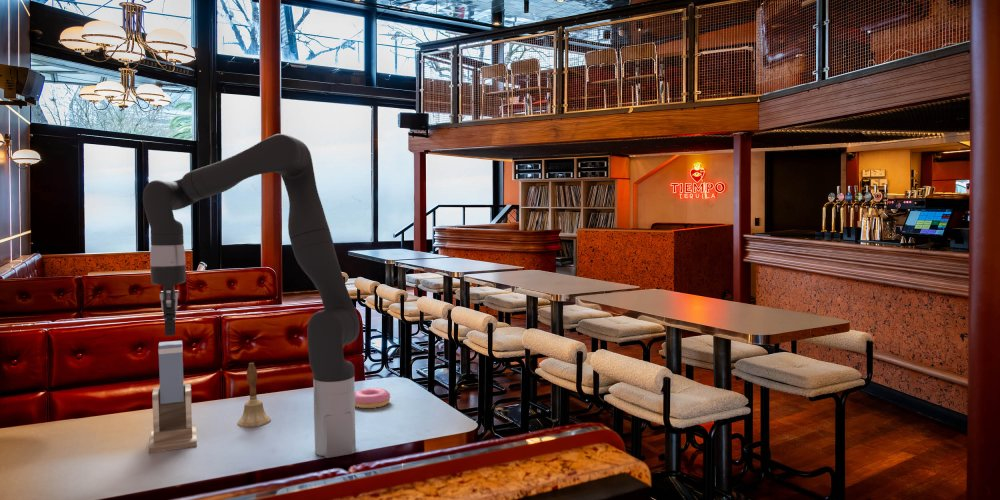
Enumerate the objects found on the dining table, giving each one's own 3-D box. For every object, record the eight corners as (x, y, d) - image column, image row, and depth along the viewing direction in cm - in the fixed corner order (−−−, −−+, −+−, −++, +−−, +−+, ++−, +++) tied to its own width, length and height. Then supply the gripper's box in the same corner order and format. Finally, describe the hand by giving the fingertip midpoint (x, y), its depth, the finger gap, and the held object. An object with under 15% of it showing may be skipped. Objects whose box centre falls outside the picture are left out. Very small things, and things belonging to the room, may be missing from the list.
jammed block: (184, 401, 155) (182, 344, 154) (160, 404, 152) (158, 346, 152) (184, 396, 159) (182, 340, 158) (161, 398, 157) (159, 342, 156)
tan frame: (196, 445, 152) (195, 393, 152) (149, 453, 148) (147, 399, 147) (195, 428, 165) (194, 380, 164) (151, 434, 160) (150, 385, 160)
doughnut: (364, 413, 178) (364, 398, 178) (345, 404, 186) (344, 390, 186) (397, 405, 185) (397, 390, 185) (377, 397, 193) (377, 383, 193)
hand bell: (248, 429, 164) (246, 367, 163) (231, 423, 169) (229, 363, 168) (277, 421, 171) (275, 362, 170) (259, 415, 176) (257, 358, 175)
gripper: (185, 265, 150) (187, 338, 151) (185, 261, 162) (187, 329, 163) (149, 266, 146) (151, 341, 147) (151, 262, 158) (154, 332, 159)
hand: (170, 334), depth 155 cm, fingers closed
